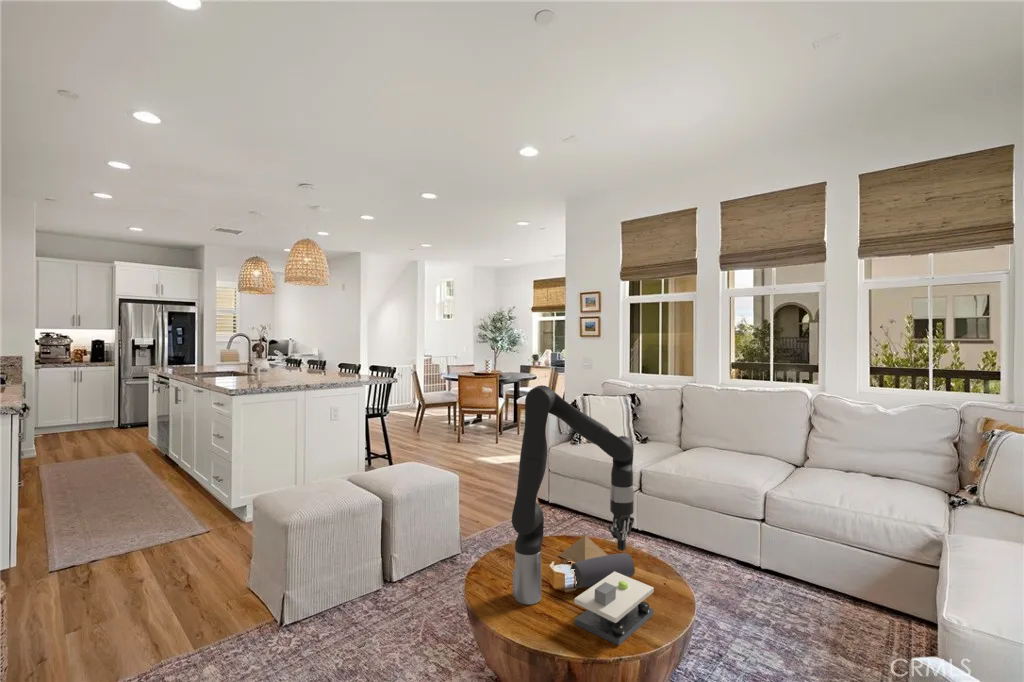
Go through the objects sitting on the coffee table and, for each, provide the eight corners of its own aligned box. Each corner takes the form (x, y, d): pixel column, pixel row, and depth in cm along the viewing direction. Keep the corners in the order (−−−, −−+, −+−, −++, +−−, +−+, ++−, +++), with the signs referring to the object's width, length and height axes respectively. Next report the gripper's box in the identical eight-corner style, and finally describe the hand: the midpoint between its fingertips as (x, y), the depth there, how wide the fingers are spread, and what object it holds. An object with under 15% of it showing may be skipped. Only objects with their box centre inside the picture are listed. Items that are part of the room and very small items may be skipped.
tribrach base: (574, 624, 161) (574, 605, 161) (611, 597, 177) (611, 580, 177) (618, 646, 150) (618, 625, 150) (653, 614, 166) (653, 596, 166)
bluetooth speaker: (621, 572, 195) (621, 547, 195) (635, 584, 186) (635, 557, 186) (569, 583, 187) (569, 557, 187) (581, 596, 178) (581, 568, 178)
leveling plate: (574, 606, 160) (574, 586, 159) (614, 578, 177) (614, 560, 177) (615, 626, 150) (616, 605, 149) (653, 595, 167) (654, 575, 167)
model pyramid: (555, 557, 209) (555, 533, 209) (585, 546, 219) (585, 523, 219) (583, 573, 196) (583, 547, 196) (614, 560, 206) (614, 536, 206)
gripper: (622, 490, 173) (621, 540, 174) (601, 500, 164) (600, 552, 164) (641, 495, 168) (641, 546, 169) (621, 505, 159) (621, 560, 159)
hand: (621, 549), depth 166 cm, fingers closed
